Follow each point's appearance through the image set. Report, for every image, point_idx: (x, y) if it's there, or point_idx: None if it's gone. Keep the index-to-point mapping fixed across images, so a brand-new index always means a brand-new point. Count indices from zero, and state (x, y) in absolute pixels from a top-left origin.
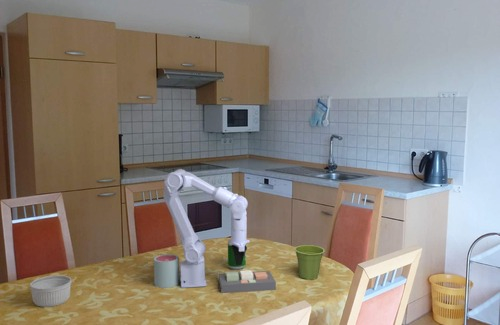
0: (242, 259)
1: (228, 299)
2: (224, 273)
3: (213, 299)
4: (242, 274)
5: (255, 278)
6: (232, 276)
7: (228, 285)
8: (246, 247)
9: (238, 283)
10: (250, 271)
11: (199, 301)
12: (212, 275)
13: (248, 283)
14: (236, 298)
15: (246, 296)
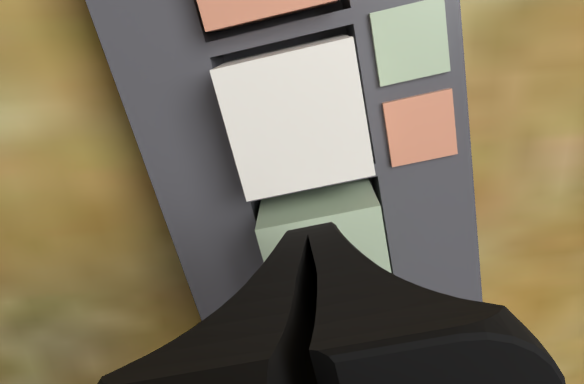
0: (355, 251)
1: (580, 218)
2: (205, 315)
3: (561, 311)
4: (362, 167)
5: (295, 11)
6: (386, 258)
7: (477, 259)
8: (423, 352)
9: (454, 181)
10: (256, 79)
11: (578, 381)
12: (119, 361)
13: (462, 82)
14: (572, 162)
15: (544, 84)
